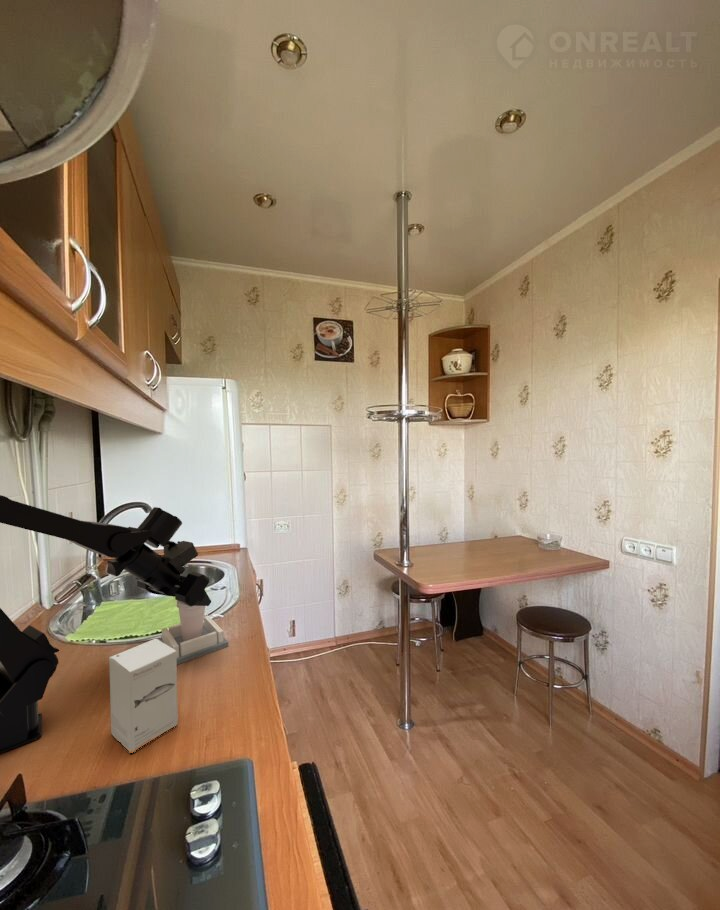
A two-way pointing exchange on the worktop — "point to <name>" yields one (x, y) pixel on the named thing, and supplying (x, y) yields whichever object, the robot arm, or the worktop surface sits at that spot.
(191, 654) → the bottle holder
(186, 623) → the smoothie
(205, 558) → the worktop surface
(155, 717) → the supplement box
